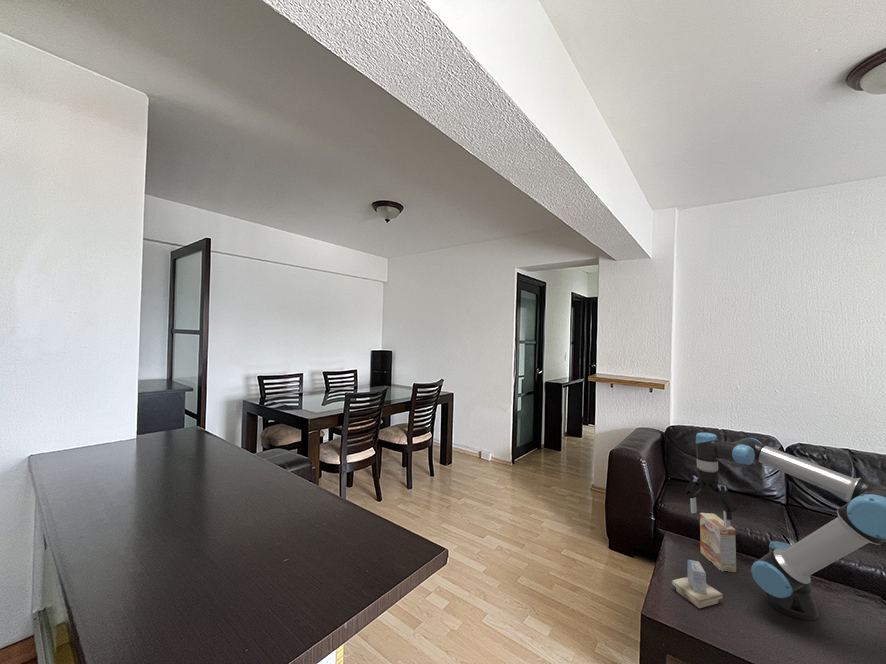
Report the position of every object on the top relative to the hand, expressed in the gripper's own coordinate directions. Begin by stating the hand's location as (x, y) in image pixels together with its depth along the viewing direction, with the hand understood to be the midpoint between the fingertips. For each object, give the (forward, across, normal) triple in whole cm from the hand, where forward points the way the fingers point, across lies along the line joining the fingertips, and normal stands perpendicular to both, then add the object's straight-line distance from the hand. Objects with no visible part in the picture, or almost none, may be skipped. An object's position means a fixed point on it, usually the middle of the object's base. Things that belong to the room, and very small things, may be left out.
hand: (709, 519), depth 153 cm
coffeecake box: (+28, +10, -20) cm, 36 cm away
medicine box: (+24, -2, +13) cm, 27 cm away
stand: (+28, -2, +13) cm, 31 cm away
